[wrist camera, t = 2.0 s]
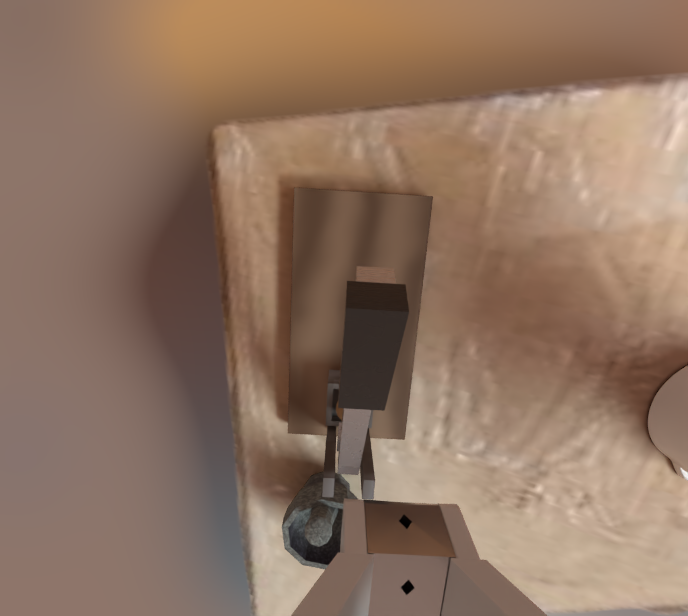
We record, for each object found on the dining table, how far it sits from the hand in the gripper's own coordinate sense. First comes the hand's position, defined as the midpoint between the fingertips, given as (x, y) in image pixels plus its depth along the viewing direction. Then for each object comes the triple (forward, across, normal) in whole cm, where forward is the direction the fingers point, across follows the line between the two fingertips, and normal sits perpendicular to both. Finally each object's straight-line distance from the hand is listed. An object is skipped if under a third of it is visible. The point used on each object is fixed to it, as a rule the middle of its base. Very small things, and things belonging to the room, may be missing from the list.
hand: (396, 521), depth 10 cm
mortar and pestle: (+33, +2, +27) cm, 43 cm away
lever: (+19, 0, +5) cm, 19 cm away
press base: (+33, 0, +4) cm, 33 cm away
